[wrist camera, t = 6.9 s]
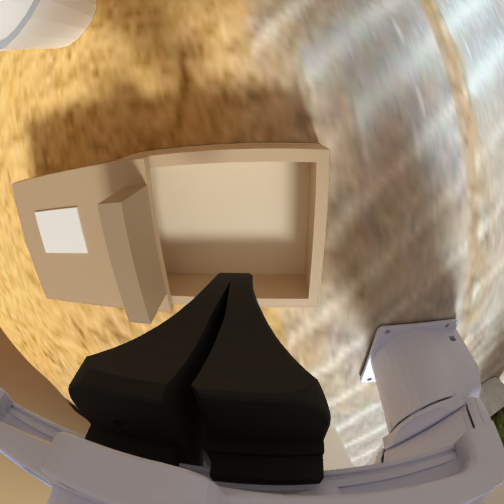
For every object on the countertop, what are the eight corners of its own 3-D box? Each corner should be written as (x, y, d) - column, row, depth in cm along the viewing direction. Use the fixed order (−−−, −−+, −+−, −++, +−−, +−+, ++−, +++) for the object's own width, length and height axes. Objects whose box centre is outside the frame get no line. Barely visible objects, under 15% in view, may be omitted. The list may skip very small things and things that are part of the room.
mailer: (319, 143, 17) (329, 149, 14) (312, 278, 21) (317, 307, 18) (141, 151, 18) (116, 160, 15) (161, 275, 22) (145, 301, 19)
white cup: (92, -29, 10) (43, -54, 4) (113, 17, 13) (54, -6, 7) (35, 21, 12) (-19, 14, 6) (50, 71, 15) (-12, 72, 8)
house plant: (487, 407, 32) (511, 472, 18) (435, 423, 33) (456, 501, 18) (528, 354, 26) (566, 425, 11) (479, 368, 26) (519, 461, 12)
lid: (148, 156, 14) (116, 170, 11) (173, 306, 19) (156, 342, 16) (16, 181, 15) (-16, 197, 12) (50, 294, 20) (27, 319, 16)
